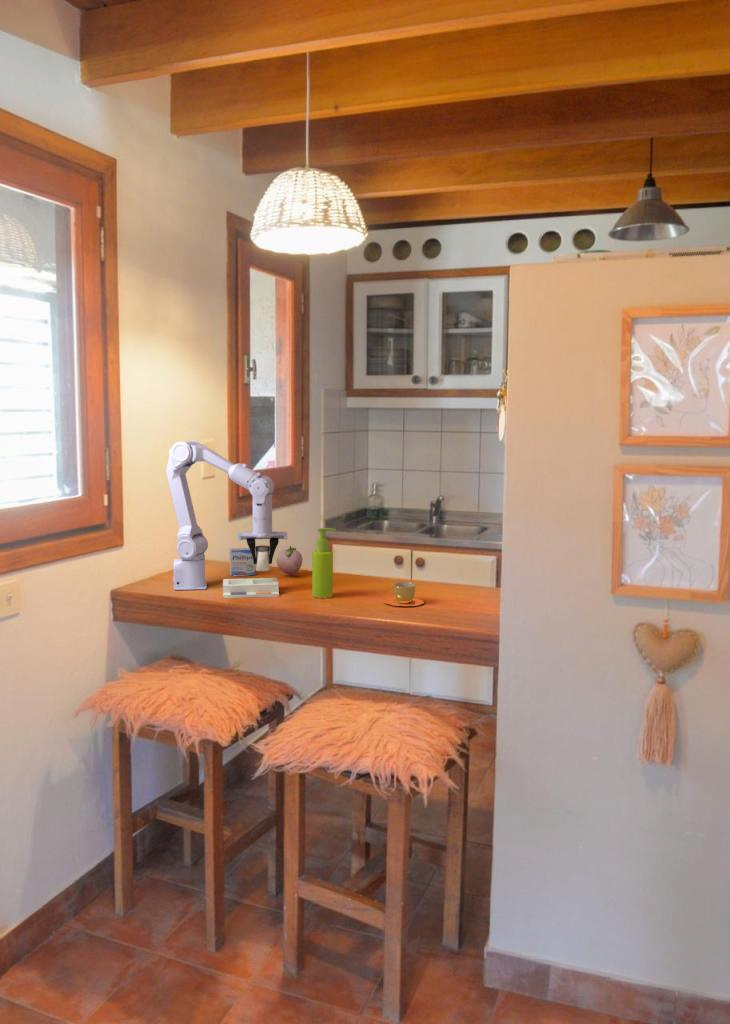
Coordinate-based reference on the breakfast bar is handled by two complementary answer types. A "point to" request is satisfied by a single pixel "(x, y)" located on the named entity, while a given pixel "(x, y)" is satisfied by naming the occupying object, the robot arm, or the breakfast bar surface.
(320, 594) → the soap dispenser
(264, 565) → the white pill bottle
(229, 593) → the socket block
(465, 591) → the breakfast bar surface
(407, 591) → the cup
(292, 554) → the decorative fruit
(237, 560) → the medicine box
